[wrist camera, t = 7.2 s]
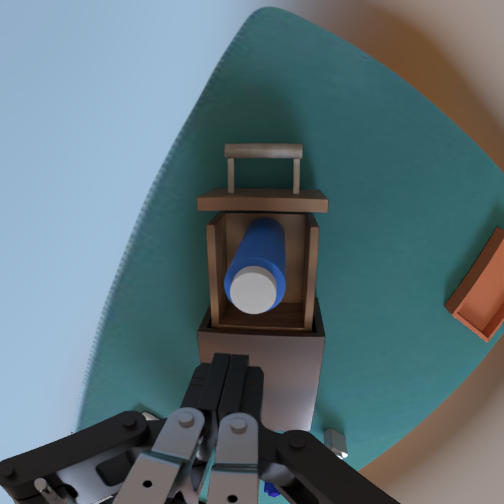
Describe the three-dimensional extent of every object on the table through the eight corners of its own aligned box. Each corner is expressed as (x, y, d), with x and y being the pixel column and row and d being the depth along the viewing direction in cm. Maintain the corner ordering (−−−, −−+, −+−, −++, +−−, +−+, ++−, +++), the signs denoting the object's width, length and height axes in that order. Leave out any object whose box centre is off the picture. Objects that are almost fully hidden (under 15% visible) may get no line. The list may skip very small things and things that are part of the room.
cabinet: (214, 294, 38) (196, 331, 30) (317, 297, 37) (325, 336, 29) (220, 383, 43) (209, 425, 35) (307, 387, 42) (310, 431, 33)
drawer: (212, 145, 32) (195, 143, 25) (320, 145, 31) (330, 144, 24) (217, 301, 38) (205, 331, 31) (313, 305, 36) (318, 336, 30)
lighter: (345, 436, 45) (350, 472, 37) (337, 441, 45) (342, 477, 38) (319, 420, 44) (321, 459, 36) (310, 425, 44) (312, 463, 37)
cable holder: (264, 482, 51) (263, 497, 47) (275, 476, 50) (274, 492, 46) (293, 492, 52) (293, 506, 48) (304, 487, 51) (304, 501, 47)
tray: (496, 226, 32) (507, 231, 29) (527, 264, 32) (537, 270, 30) (443, 305, 36) (451, 315, 33) (479, 334, 37) (487, 343, 34)
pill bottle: (245, 216, 33) (219, 262, 20) (285, 217, 32) (286, 264, 19) (245, 255, 34) (221, 320, 21) (284, 256, 34) (284, 323, 20)
